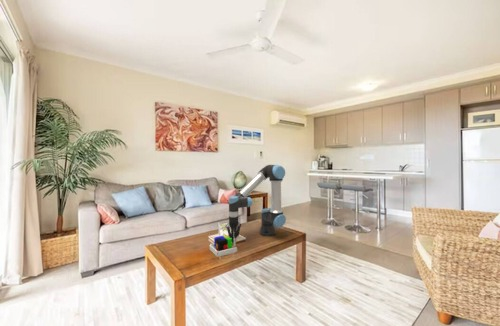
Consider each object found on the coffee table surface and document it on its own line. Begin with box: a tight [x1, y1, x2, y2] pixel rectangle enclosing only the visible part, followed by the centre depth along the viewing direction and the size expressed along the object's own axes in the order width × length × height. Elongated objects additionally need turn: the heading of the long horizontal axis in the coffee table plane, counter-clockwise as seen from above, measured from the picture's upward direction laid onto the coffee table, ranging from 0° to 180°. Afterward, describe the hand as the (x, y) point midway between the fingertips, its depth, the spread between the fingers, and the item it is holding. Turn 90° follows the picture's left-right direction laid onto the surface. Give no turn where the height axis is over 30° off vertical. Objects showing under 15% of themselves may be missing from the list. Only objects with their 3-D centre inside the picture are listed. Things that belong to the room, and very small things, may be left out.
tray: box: [208, 243, 238, 258], centre depth 166 cm, size 16×16×4 cm
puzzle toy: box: [213, 234, 233, 251], centre depth 165 cm, size 10×10×10 cm
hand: (233, 245), depth 171 cm, fingers closed
